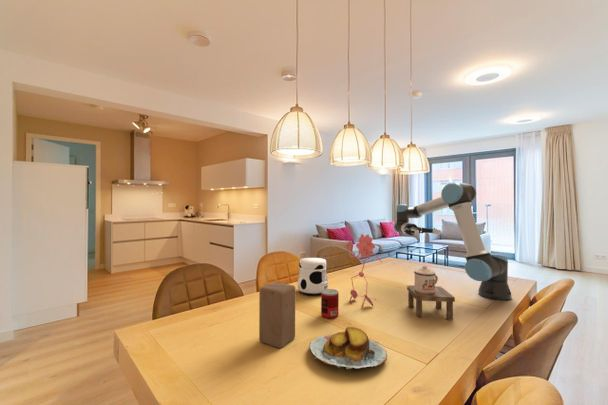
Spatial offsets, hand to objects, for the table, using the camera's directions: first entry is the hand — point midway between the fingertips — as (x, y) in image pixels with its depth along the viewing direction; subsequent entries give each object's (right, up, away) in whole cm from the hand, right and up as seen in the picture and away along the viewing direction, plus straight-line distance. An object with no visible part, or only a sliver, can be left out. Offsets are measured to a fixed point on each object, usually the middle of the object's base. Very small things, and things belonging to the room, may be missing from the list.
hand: (429, 232), depth 162 cm
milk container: (-66, -34, 0) cm, 75 cm away
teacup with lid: (-14, -24, -29) cm, 40 cm away
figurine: (-40, -34, -17) cm, 55 cm away
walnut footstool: (-13, -34, -30) cm, 47 cm away
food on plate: (-57, -34, -66) cm, 94 cm away
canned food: (-60, -34, -34) cm, 77 cm away
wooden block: (-81, -34, -57) cm, 105 cm away
